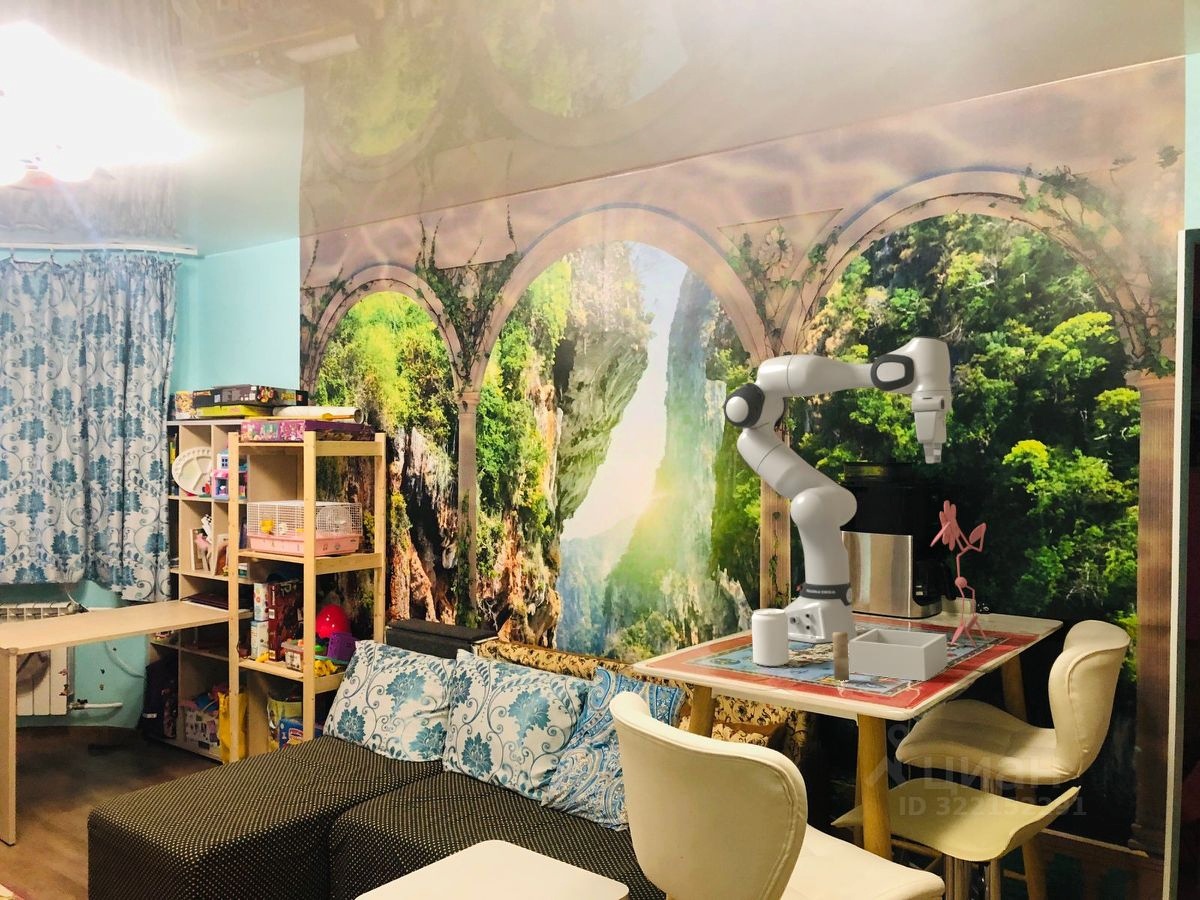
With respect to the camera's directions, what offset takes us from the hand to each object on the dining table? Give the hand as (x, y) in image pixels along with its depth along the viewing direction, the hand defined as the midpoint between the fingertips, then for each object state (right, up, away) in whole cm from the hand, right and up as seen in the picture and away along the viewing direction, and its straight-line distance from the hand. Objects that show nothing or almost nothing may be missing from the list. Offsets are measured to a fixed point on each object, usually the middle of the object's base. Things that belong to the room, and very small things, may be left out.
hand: (933, 462), depth 214 cm
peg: (-28, -45, -25) cm, 59 cm away
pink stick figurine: (+9, -45, +11) cm, 47 cm away
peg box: (-14, -45, -17) cm, 50 cm away
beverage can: (-40, -46, -6) cm, 61 cm away
